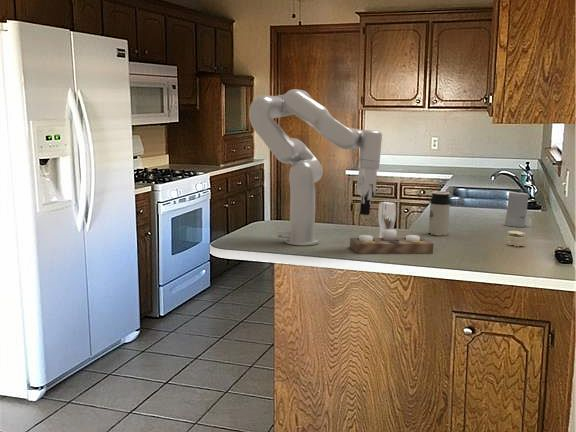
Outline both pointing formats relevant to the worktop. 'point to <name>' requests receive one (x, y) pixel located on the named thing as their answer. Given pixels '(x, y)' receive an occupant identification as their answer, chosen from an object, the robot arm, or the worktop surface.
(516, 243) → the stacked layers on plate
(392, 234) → the button middle
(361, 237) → the button left
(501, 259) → the worktop surface
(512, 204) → the skincare box
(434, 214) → the travel mug
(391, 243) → the button board
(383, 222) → the beer glass
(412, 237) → the button right
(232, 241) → the worktop surface
